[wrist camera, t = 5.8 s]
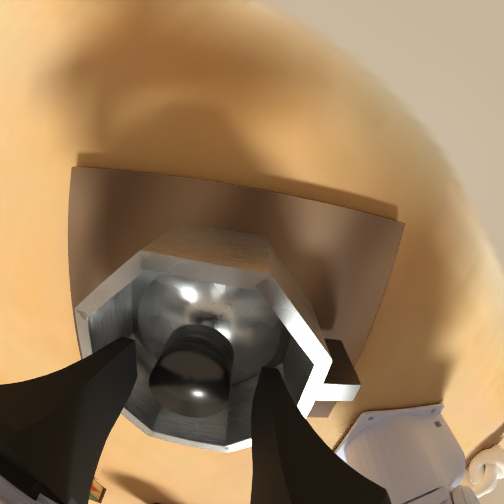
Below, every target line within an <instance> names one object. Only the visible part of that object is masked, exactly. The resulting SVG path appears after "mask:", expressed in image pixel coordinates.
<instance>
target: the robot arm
mask: <svg viewBox="0 0 504 504" xmlns="http://www.w3.org/2000/svg"><path fill="white" fill-rule="evenodd" d="M137 377H138V374H137V361H136V345H135V340H133V339H130V338H127V337H123V336H122V337H120V338H118V339H116V340H115V341H113V342H111V343H110V344H108V345H106V346H105V347H103V348H101V349H100V350H98V351H96V352H94V353H93V354H91V355H89V356H87V357H86V358H84V359H82V360H80V361H78V362H76V363H74V364H72V365H70V366H68V367H66V368H63V369H61V370H59V371H56V372H54V373H51V374H48V375H45V376H42V377H38V378H35V379H31V380H27V381H23V382H18V383H12V384H4V385H0V504H88V500H89V495H90V490H91V486H92V482H93V479H94V475H95V471H96V468H97V465H98V462H99V459H100V456H101V453H102V450H103V447H104V445H105V442H106V440H107V437H108V435H109V433H110V431H111V429H112V428H113V426H114V424H115V422H116V420H117V418H118V417H119V415H120V413H121V411H122V409H123V408H124V406H125V404H126V402H127V400H128V399H129V397H130V395H131V392H132V390H133V387H134V385H135V382H136V379H137ZM443 409H444V404H443V403H440V404H435V405H428V406H421V407H414V408H405V409H395V410H383V411H367V412H363V413H362V414H360V416H359V417H358V419H357V420H356V422H355V423H354V425H353V426H352V428H351V429H350V431H349V432H348V433H347V435H346V436H345V438H344V439H343V441H342V442H341V443H340V445H339V446H338V447H337V449H336V450H335V452H333V451H332V450H331V449H330V448H329V447H328V446H327V445H326V444H325V442H324V441H323V440H322V439H321V438H320V437H319V436H318V434H317V433H316V432H315V431H314V429H313V428H312V427H311V425H310V424H309V423H308V421H307V420H306V418H305V417H304V416H303V414H302V413H301V411H300V409H299V408H298V406H297V404H296V403H295V401H294V399H293V398H292V396H291V394H290V392H289V390H288V388H287V386H286V384H285V382H284V380H283V378H282V376H281V374H280V371H279V370H278V369H277V368H271V367H263V366H262V368H261V372H260V376H259V379H258V383H257V386H256V390H255V393H254V397H253V400H252V412H251V440H252V460H253V478H252V492H251V503H250V504H480V503H479V501H478V499H477V497H476V495H475V494H474V492H473V490H472V489H471V488H470V487H469V486H462V485H459V484H460V482H461V481H462V479H463V477H464V474H465V468H466V461H465V455H464V453H463V451H462V449H461V447H460V445H459V443H458V442H457V440H456V438H455V437H454V435H453V433H452V431H451V430H450V428H449V426H448V425H447V423H446V421H445V420H444V418H443V417H442V415H441V412H442V410H443Z"/></svg>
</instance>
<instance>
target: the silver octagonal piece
mask: <svg viewBox="0 0 504 504" xmlns="http://www.w3.org/2000/svg"><path fill="white" fill-rule="evenodd" d="M160 273H165V274H169V275H174V276H179V277H184V278H189V279H194V280H200V281H205V282H210V283H215V284H221V285H226V286H232V287H237V288H243V289H249V290H255V291H259V292H260V293H261V295H262V296H263V297H264V299H265V300H266V301H267V303H268V304H269V305H270V307H271V308H272V309H273V311H274V312H275V313H276V315H277V316H278V317H279V323H280V339H279V344H278V347H277V349H276V352H275V354H274V356H273V357H272V359H271V360H270V361H269V363H268V364H267V365H266V366H265V367H271V368H277V369H278V370H279V371H280V374H281V376H282V378H283V380H284V382H285V384H286V386H287V388H288V390H289V392H290V394H291V396H292V398H293V399H294V401H295V403H296V404H297V406H298V408H299V409H300V411H301V413H302V414H303V416H304V417H305V418H306V417H307V415H308V413H309V411H310V409H311V407H312V405H313V403H314V401H315V400H323V401H353V399H354V397H355V396H356V394H357V392H358V390H359V388H360V386H361V383H360V381H359V379H358V376H357V374H356V372H355V370H354V367H353V365H352V363H351V361H350V358H349V356H348V354H347V352H346V350H345V347H344V345H343V343H342V341H341V340H336V339H326V338H324V337H323V334H322V332H321V329H320V326H319V324H318V321H317V318H316V316H315V313H314V311H313V308H312V305H311V303H310V300H309V299H308V297H307V296H306V294H305V293H304V291H303V290H302V289H301V287H300V286H299V284H298V283H297V281H296V280H295V278H294V277H293V275H292V274H291V272H290V271H289V269H288V268H287V267H286V265H285V264H284V262H283V261H282V259H281V258H280V256H279V255H278V253H277V252H276V251H275V249H274V248H273V246H272V245H271V243H270V242H269V240H268V239H267V238H265V237H264V236H259V235H253V234H248V233H242V232H237V231H231V230H225V229H220V228H214V227H208V226H202V225H196V224H191V223H185V222H182V223H180V224H178V225H177V226H175V227H174V228H172V229H171V230H169V231H168V232H166V233H165V234H163V235H162V236H160V237H159V238H157V239H156V240H154V241H153V242H151V243H150V244H148V245H147V246H146V247H144V248H143V249H141V250H140V251H139V252H137V253H136V254H135V255H134V256H133V257H131V258H130V259H129V260H128V261H127V262H125V263H124V264H123V265H122V266H121V267H120V268H118V269H117V270H116V271H115V272H114V273H113V274H112V275H110V276H109V277H108V278H107V279H106V280H105V281H104V282H103V283H101V284H100V285H99V286H98V287H97V288H96V289H95V290H94V291H93V292H91V293H90V294H89V295H88V296H87V297H86V298H85V299H84V300H83V301H82V302H81V303H80V304H79V305H77V306H76V307H75V316H76V323H77V330H78V336H79V342H80V347H81V352H82V357H83V359H84V358H86V357H87V356H89V355H91V354H93V353H94V352H96V351H98V350H100V349H101V348H103V347H105V346H106V345H108V344H110V343H111V342H113V341H115V340H116V339H118V338H120V337H122V336H123V337H127V338H130V339H133V340H135V345H136V361H137V374H138V377H137V379H136V382H135V385H134V387H133V390H132V392H131V395H130V397H129V399H128V400H127V402H126V404H125V406H124V408H123V409H122V411H121V414H122V415H123V416H125V417H126V418H127V419H128V420H129V421H130V422H132V423H133V424H134V425H135V426H137V427H138V428H139V429H140V430H142V431H143V432H144V433H145V434H147V435H149V436H151V437H154V438H158V439H162V440H165V441H169V442H173V443H178V444H182V445H186V446H191V447H196V448H201V449H207V450H212V451H219V452H225V453H227V452H228V453H229V452H233V451H237V450H240V449H243V448H247V447H250V446H252V440H251V412H252V400H253V397H254V393H255V390H256V386H257V383H258V379H259V376H260V372H261V371H259V372H258V373H257V374H255V375H253V376H251V377H250V378H248V379H245V380H243V381H240V382H236V383H232V384H230V393H229V401H228V404H227V406H226V407H225V408H224V410H222V411H221V412H220V413H218V414H216V415H214V416H211V417H206V418H192V417H186V416H182V415H179V414H177V413H174V412H172V411H170V410H169V409H167V408H165V407H164V406H163V405H162V404H160V403H159V402H158V401H157V400H156V398H155V397H154V396H153V394H152V392H151V390H150V387H149V377H150V375H151V373H152V371H153V368H154V366H155V364H156V362H157V359H156V358H155V357H154V356H153V355H152V354H151V352H150V351H149V349H148V348H147V346H146V344H145V342H144V341H143V338H142V336H141V333H140V329H139V324H138V308H139V304H140V300H141V298H142V295H143V293H144V291H145V290H146V288H147V287H148V285H149V284H150V283H151V282H152V281H153V279H154V278H155V277H156V276H157V275H159V274H160Z"/></svg>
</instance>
